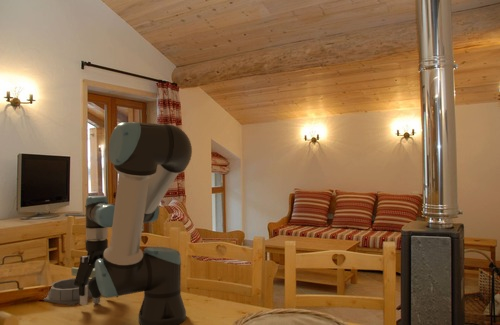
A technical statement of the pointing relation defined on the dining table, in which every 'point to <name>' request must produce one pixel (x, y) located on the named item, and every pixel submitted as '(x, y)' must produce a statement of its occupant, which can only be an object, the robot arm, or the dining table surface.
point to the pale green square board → (75, 270)
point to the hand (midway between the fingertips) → (96, 298)
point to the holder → (65, 292)
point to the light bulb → (94, 290)
